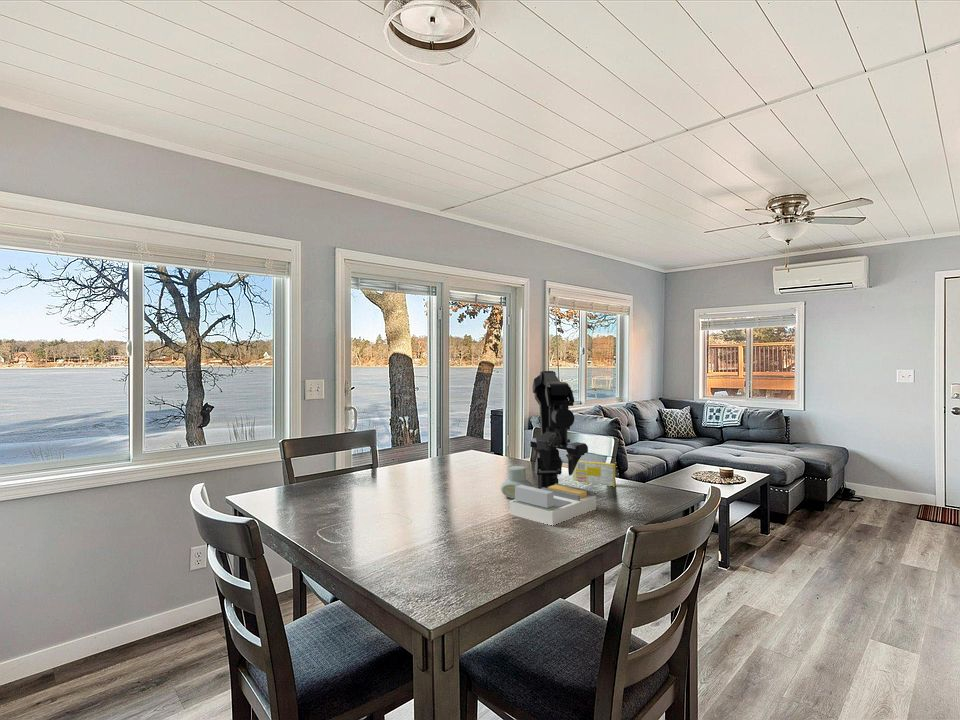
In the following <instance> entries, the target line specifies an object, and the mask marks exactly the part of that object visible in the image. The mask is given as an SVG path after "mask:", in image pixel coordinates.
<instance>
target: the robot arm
mask: <svg viewBox="0 0 960 720" xmlns="http://www.w3.org/2000/svg"><path fill="white" fill-rule="evenodd" d="M559 379H560V378H558V376H557V374H556V371H554V370H542V371H540V373H539V374H538V375H537V376H536V377H535V378H534V379H533V382H532V393H533V394H534V399H535V401H536V403H537V404H538V405H539V422H540V435H539V436H537V437H532V438H531V440H530V442H529V443H530V445H529V447H530V448H533V450H534V451H536V452H537V457H535V462H534V463H535V464H534V473H535V475H536V476H537V486H538V487H537V488H538V489H541V488H543V487H544V488H548V487H549V486H552V485H555V484H556V483H557V484H559V478H558V477H559V476H560V475H561V474H562V470H563V469H562V468H563V461H562V458H561V457H560V450H566V451H565V452H567V453H566V454H565V456H566V457H567V463H568V464H567V470H568V471H567V472H568V476H571V477H572V474H573V471H574V469H575V467H576V465H577V463H578V461H580V459H581V458H582V456H585V454H588V453H589V446H588V445H587V443H584V442H577V441H575V442H571V439H570V438H568V430H571V427H572V426H573V424H574V422H575V419H576V418H575V415H574V413H573V412H572V411H571V410H570V409H569V408H570V407H574V403H575V396H574V393H573V390H572V387H571V386H570V385H569V383H568V382H566V381H560V380H559ZM559 449H560V450H559Z"/></svg>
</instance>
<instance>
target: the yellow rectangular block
mask: <svg viewBox="0 0 960 720" xmlns="http://www.w3.org/2000/svg"><path fill="white" fill-rule="evenodd" d="M548 488H549V489H553V490H558V491H562V492H567V493H572V494H576V495H580V498H583V497H585V496H587V491H583V490H578V489H574V488H569V487H564V486H559V485H552V486H549V487H548Z"/></svg>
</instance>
